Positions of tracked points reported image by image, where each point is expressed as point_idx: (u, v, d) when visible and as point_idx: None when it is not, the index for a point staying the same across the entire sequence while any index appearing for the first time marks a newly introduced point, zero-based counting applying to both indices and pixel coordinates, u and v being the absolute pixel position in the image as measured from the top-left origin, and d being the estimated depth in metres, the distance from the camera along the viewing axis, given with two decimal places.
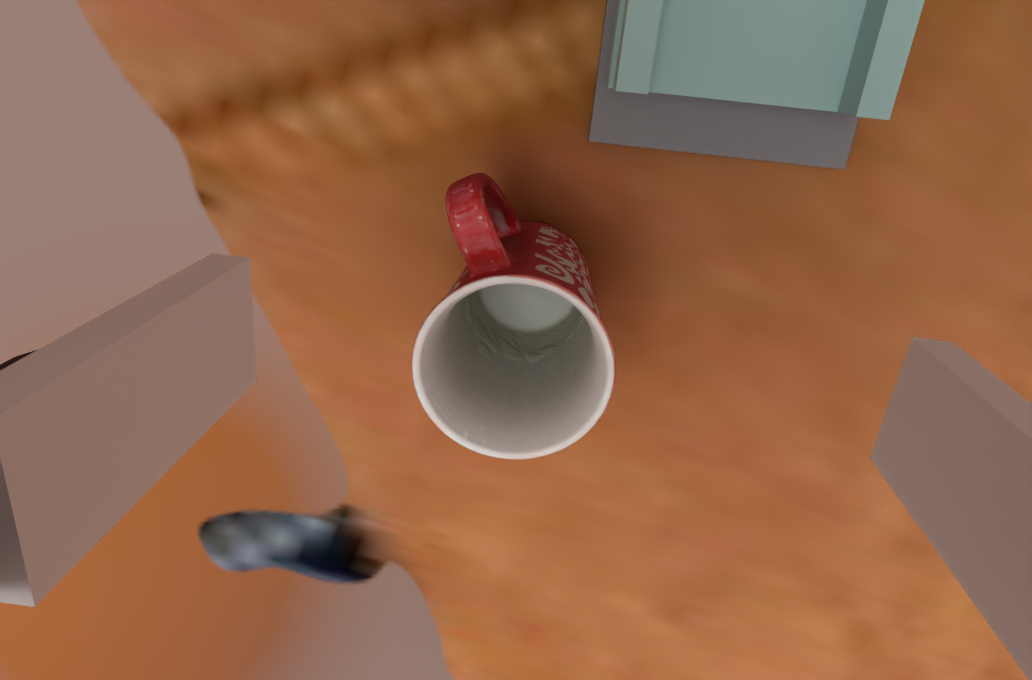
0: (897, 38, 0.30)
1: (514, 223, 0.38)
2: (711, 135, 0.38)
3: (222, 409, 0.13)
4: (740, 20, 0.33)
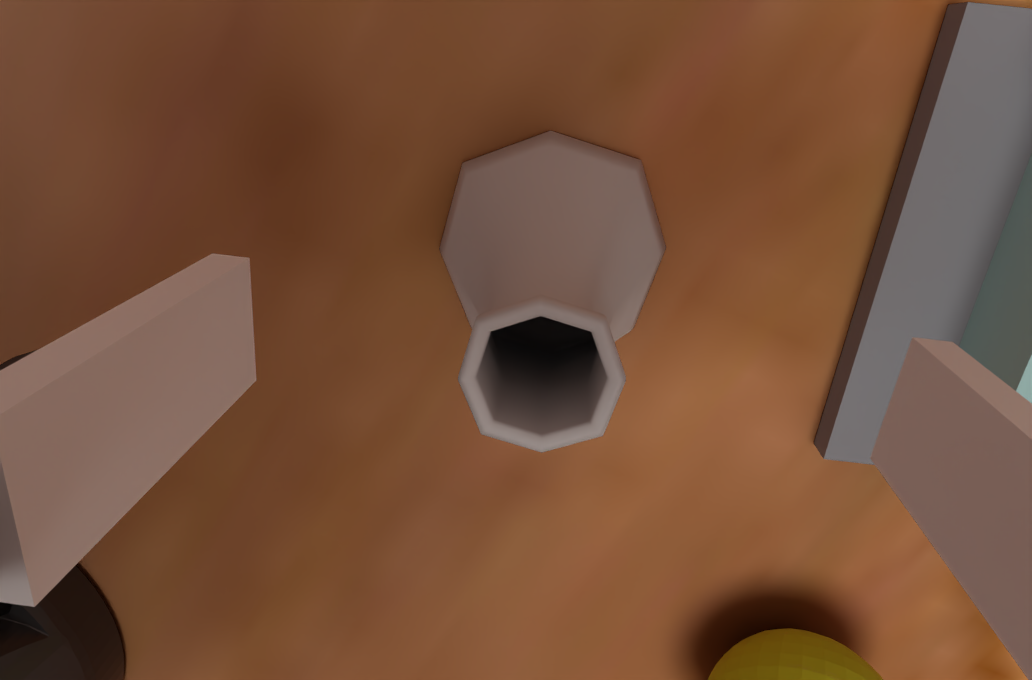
0: None
1: None
2: None
3: (222, 409, 0.13)
4: None
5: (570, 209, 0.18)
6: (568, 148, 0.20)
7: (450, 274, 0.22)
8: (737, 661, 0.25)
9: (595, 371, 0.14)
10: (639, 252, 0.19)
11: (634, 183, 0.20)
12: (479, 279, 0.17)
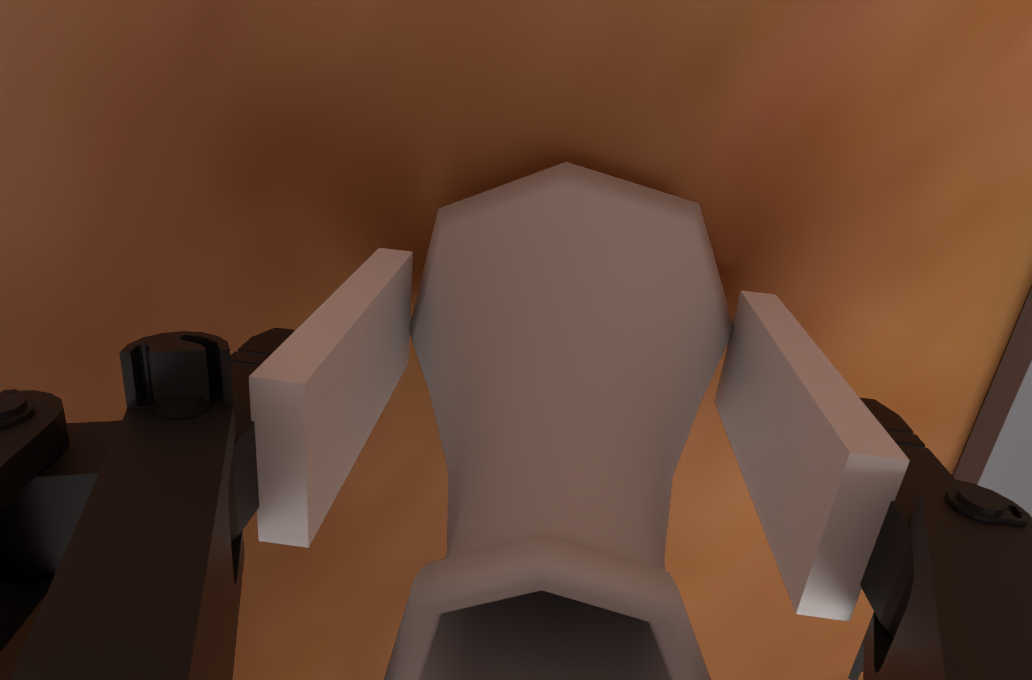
0: None
1: None
2: None
3: (392, 388, 0.15)
4: None
5: (597, 298, 0.11)
6: (592, 189, 0.13)
7: None
8: None
9: (647, 630, 0.08)
10: (702, 350, 0.13)
11: (692, 243, 0.13)
12: (451, 413, 0.11)
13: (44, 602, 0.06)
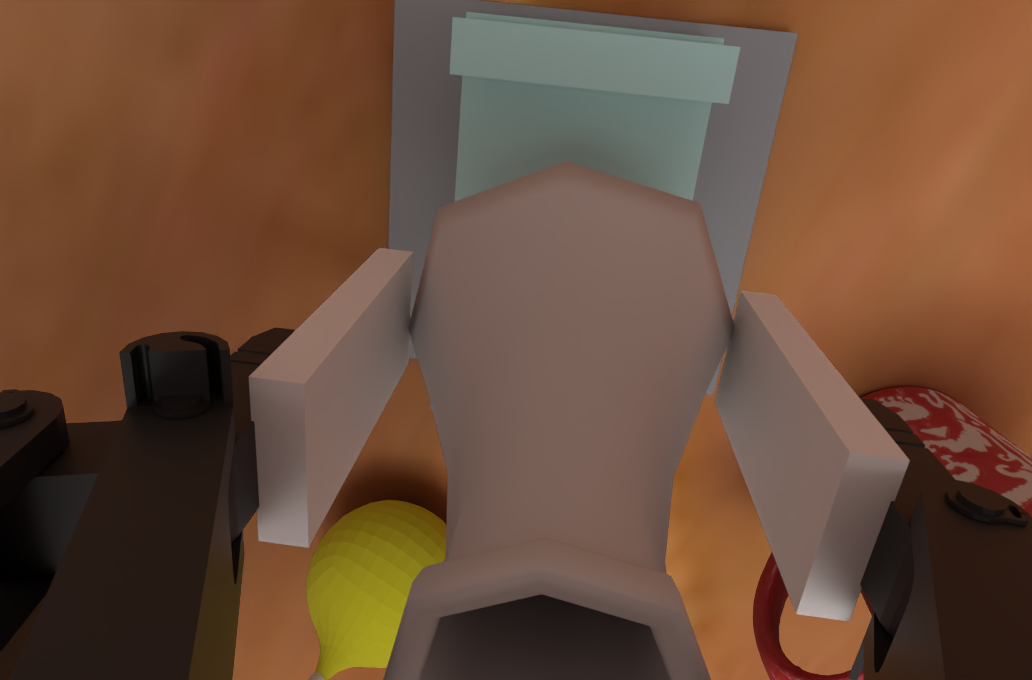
0: (614, 60, 0.19)
1: None
2: (722, 241, 0.27)
3: (392, 388, 0.15)
4: None
5: (597, 298, 0.11)
6: (592, 189, 0.13)
7: None
8: (337, 521, 0.31)
9: (648, 634, 0.08)
10: (703, 351, 0.13)
11: (692, 243, 0.13)
12: (450, 414, 0.11)
13: (44, 602, 0.06)
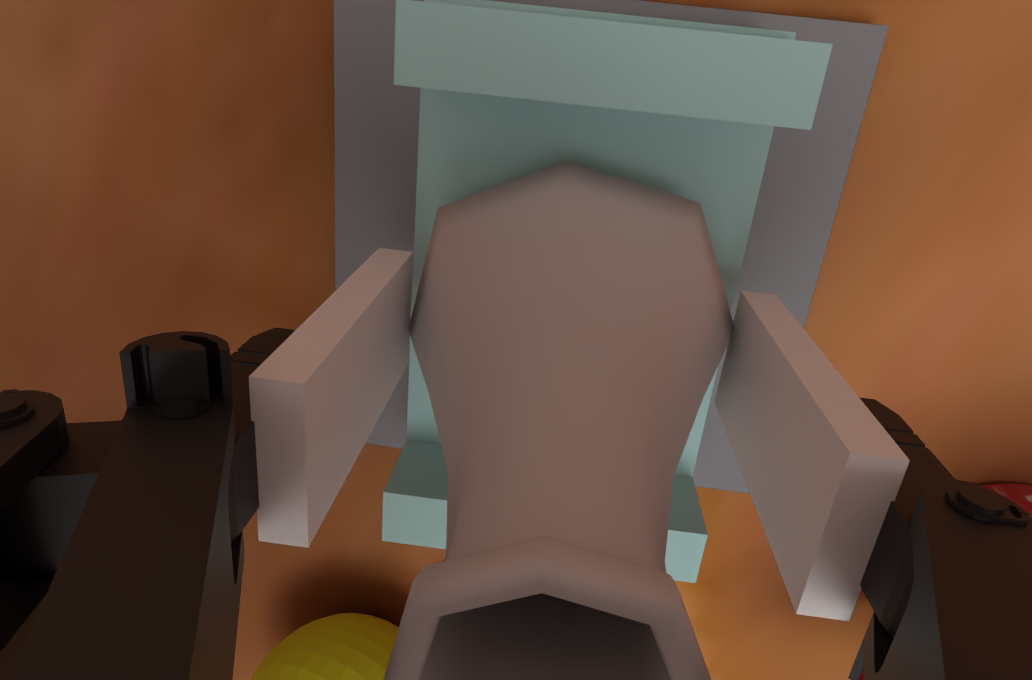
0: (640, 63, 0.13)
1: None
2: None
3: (393, 388, 0.15)
4: None
5: (597, 298, 0.11)
6: (592, 188, 0.13)
7: None
8: (278, 645, 0.25)
9: (648, 633, 0.08)
10: (703, 350, 0.13)
11: (693, 242, 0.13)
12: (450, 413, 0.11)
13: (43, 603, 0.06)
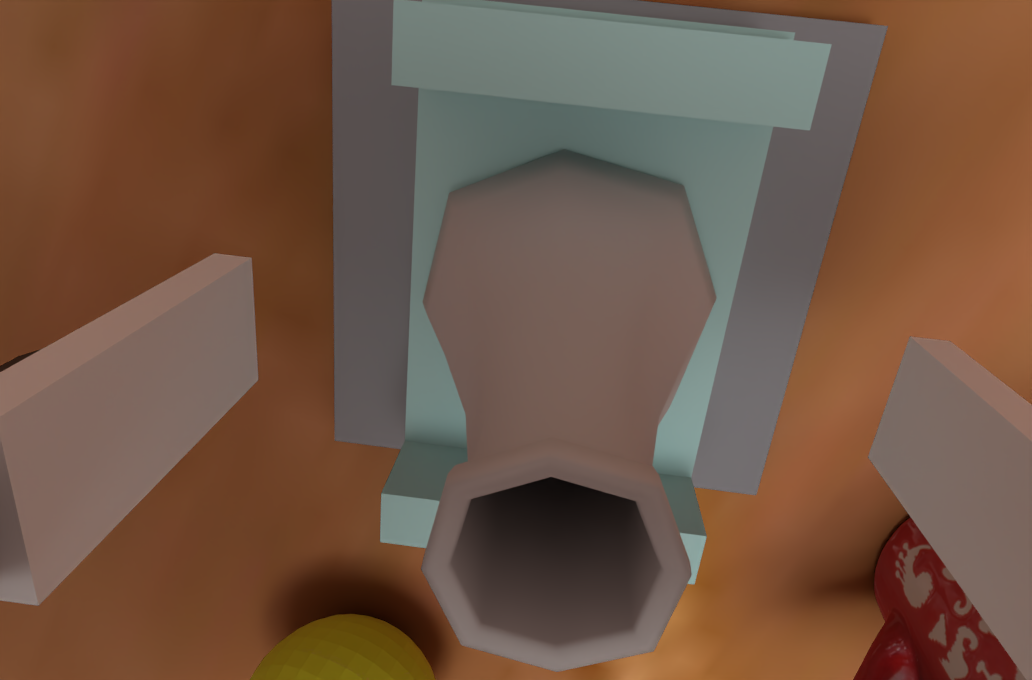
0: (638, 64, 0.13)
1: (893, 656, 0.21)
2: (773, 303, 0.20)
3: (224, 409, 0.13)
4: None
5: (592, 265, 0.13)
6: (587, 173, 0.15)
7: None
8: (276, 646, 0.25)
9: (637, 530, 0.09)
10: (686, 314, 0.14)
11: (677, 220, 0.15)
12: (466, 366, 0.12)
13: None
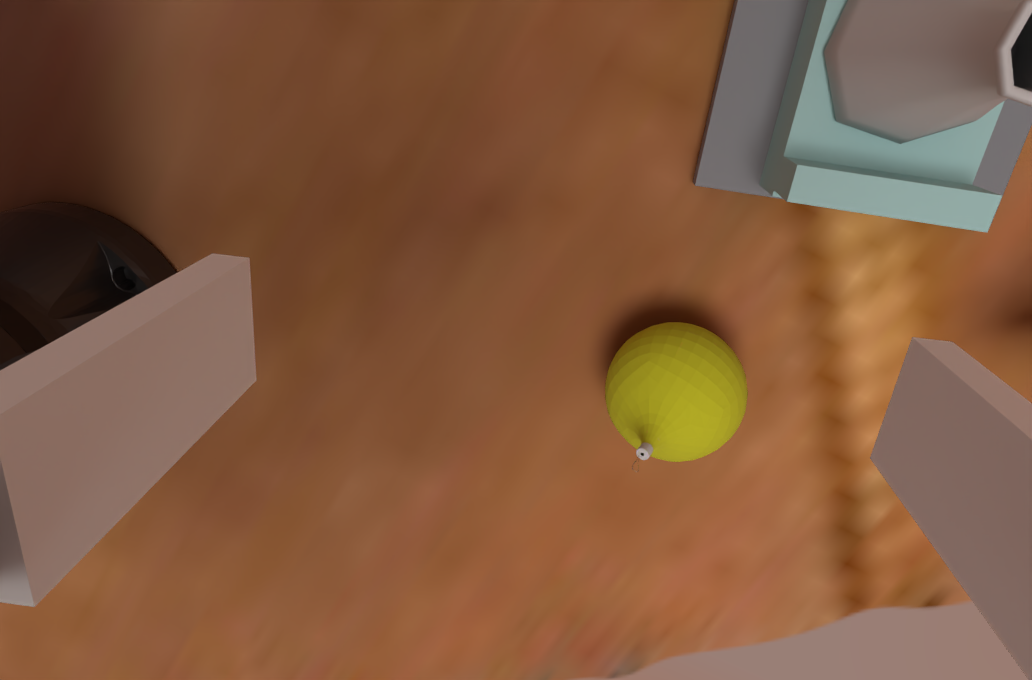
0: None
1: None
2: None
3: (222, 409, 0.13)
4: None
5: None
6: None
7: (836, 69, 0.28)
8: (632, 336, 0.36)
9: None
10: None
11: None
12: (930, 32, 0.23)
13: None
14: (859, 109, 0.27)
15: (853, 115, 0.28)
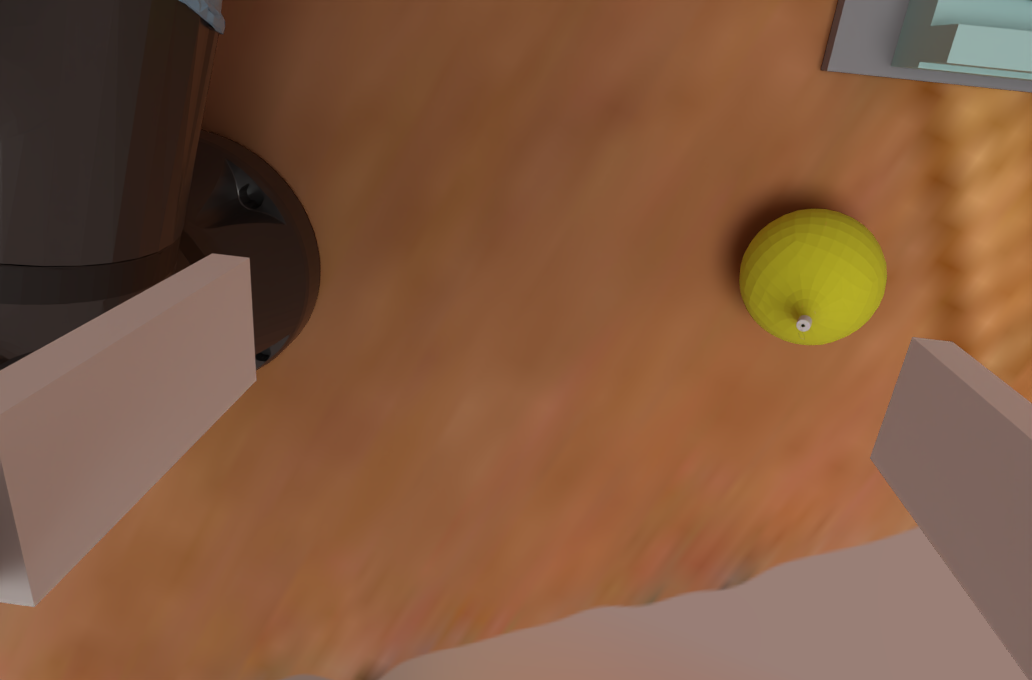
0: None
1: None
2: None
3: (222, 409, 0.13)
4: None
5: None
6: None
7: None
8: None
9: None
10: None
11: None
12: None
13: None
14: None
15: None
